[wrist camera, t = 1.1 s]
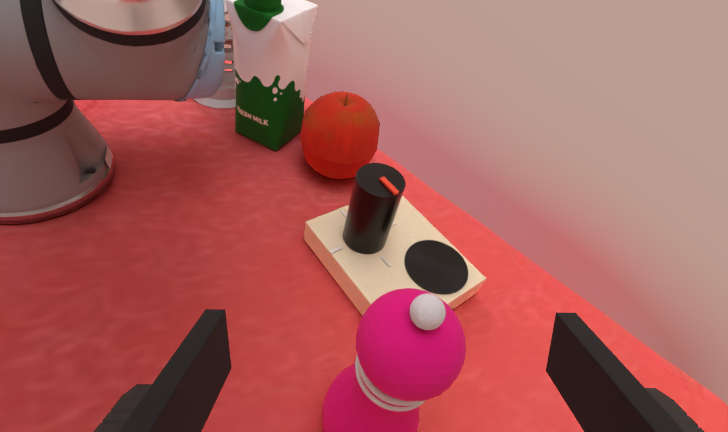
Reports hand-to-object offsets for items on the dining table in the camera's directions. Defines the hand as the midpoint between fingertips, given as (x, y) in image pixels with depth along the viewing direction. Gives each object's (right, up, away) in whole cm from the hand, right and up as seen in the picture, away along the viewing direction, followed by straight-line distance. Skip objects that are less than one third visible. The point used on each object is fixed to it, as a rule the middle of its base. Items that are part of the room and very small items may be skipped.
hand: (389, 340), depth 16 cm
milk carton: (-15, +17, +43) cm, 49 cm away
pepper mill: (-1, -13, +18) cm, 22 cm away
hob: (+2, -1, +30) cm, 30 cm away
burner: (+7, -1, +27) cm, 28 cm away
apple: (-5, +11, +40) cm, 42 cm away
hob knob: (-1, +3, +28) cm, 28 cm away
